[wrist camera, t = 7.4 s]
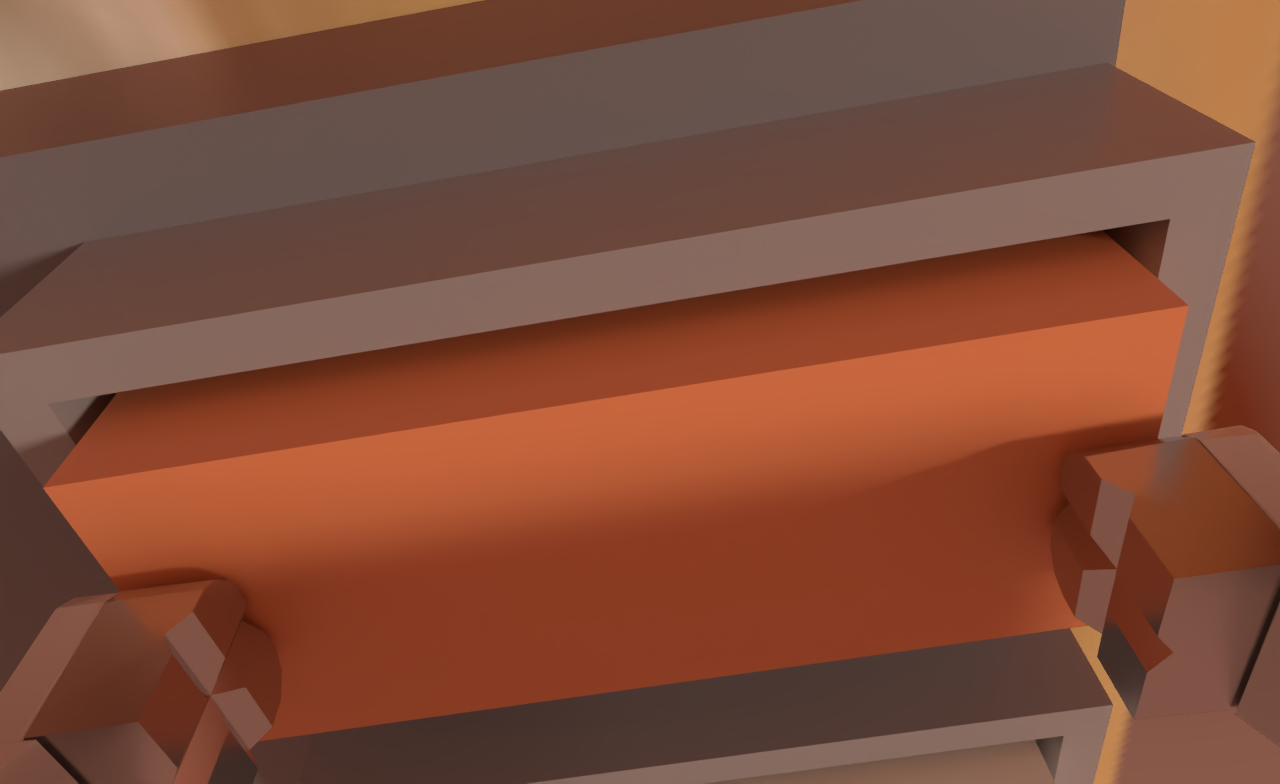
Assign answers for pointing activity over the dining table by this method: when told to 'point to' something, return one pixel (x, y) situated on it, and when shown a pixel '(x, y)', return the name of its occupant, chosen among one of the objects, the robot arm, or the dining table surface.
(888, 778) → the bar ivory
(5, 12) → the dining table surface
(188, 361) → the panel
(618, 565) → the bar orange
